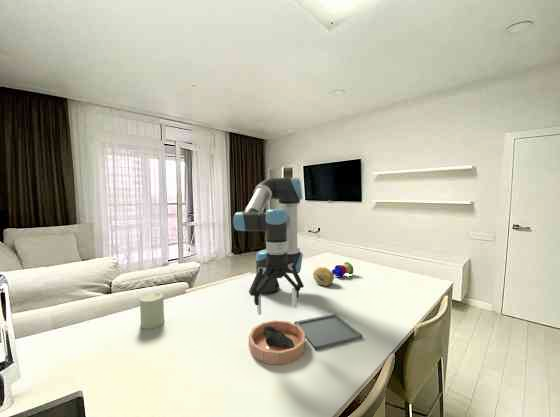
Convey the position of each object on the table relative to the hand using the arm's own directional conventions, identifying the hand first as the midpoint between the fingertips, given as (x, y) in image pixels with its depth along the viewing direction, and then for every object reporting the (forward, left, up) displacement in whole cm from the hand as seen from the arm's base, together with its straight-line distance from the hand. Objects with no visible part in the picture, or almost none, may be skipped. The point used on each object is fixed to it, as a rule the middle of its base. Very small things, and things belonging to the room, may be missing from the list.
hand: (277, 309), depth 88 cm
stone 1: (+1, 0, -13) cm, 13 cm away
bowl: (0, 0, -13) cm, 13 cm away
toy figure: (-56, +68, -14) cm, 89 cm away
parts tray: (-2, +22, -13) cm, 26 cm away
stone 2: (-49, +48, -14) cm, 70 cm away
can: (-34, -45, -14) cm, 58 cm away
